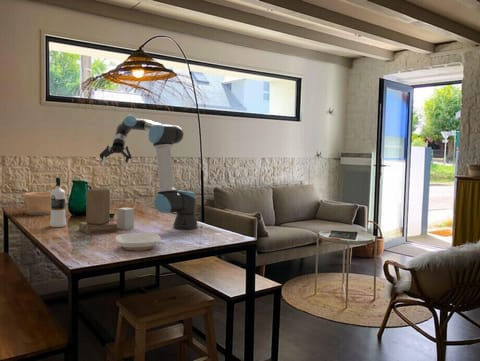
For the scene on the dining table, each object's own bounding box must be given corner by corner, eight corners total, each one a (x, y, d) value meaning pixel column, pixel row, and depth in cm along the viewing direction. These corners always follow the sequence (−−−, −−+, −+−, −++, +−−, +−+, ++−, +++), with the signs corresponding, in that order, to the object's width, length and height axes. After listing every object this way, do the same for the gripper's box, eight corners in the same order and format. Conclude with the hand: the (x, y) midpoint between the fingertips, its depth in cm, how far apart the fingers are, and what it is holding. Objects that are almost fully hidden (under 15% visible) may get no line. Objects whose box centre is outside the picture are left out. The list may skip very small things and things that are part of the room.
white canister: (133, 227, 257) (134, 208, 256) (125, 229, 251) (125, 209, 250) (126, 226, 260) (126, 207, 259) (117, 228, 254) (117, 208, 254)
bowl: (163, 252, 201) (163, 241, 200) (116, 254, 193) (116, 243, 193) (156, 242, 221) (156, 232, 221) (114, 244, 214) (114, 234, 213)
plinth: (117, 232, 244) (117, 224, 244) (90, 235, 234) (90, 226, 233) (105, 228, 256) (105, 220, 256) (79, 230, 245) (79, 222, 245)
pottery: (42, 216, 285) (42, 196, 284) (16, 214, 291) (15, 194, 290) (63, 212, 306) (63, 193, 305) (39, 210, 312) (39, 191, 311)
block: (101, 225, 239) (101, 190, 237) (85, 223, 241) (85, 189, 239) (110, 222, 248) (110, 189, 247) (95, 221, 250) (95, 188, 249)
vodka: (69, 225, 256) (69, 177, 254) (56, 228, 248) (56, 178, 246) (59, 224, 261) (59, 176, 259) (46, 226, 253) (46, 177, 250)
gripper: (138, 146, 283) (133, 169, 269) (101, 145, 282) (94, 168, 268) (137, 138, 277) (132, 161, 264) (99, 137, 276) (92, 160, 263)
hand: (113, 165), depth 266 cm, fingers open, 13 cm apart
